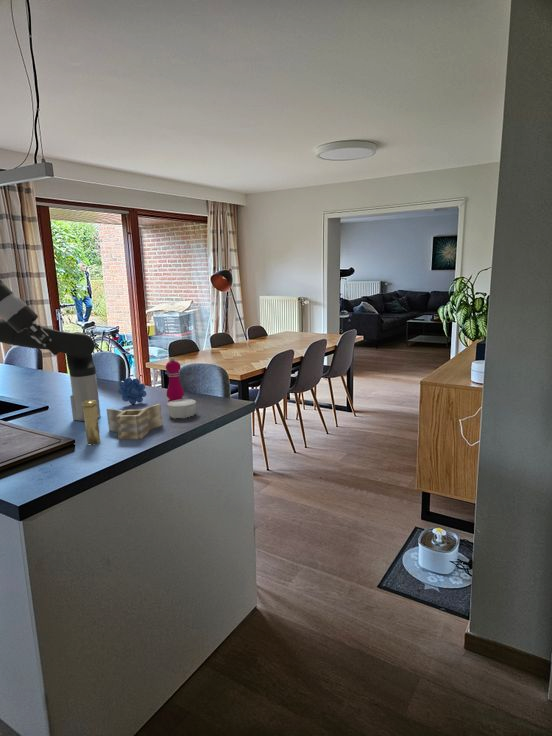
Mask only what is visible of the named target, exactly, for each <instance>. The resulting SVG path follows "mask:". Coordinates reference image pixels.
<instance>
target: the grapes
mask: <svg viewBox="0 0 552 736" xmlns="http://www.w3.org/2000/svg"><path fill="white" fill-rule="evenodd" d="M145 389H146V385H145V384H144V383H142V382H141V381H140V379H139V378H137V377H134V378H131V377H129V376H127V377H126V378H125V380H124V381H123V380H121V381H120V382H119V388H118V391H117V392H118V394H119V395H120V396H122V397H121V399H122V401H124V402H128V403H130V404H131V405H135V404H136V403H139V404H141V403H143V401H144V398H145V397H147V391H146V390H145Z"/></svg>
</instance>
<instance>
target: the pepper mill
mask: <svg viewBox="0 0 552 736" xmlns="http://www.w3.org/2000/svg"><path fill="white" fill-rule="evenodd" d="M165 370H166V372H167V377H168V385H167V389H166V397H167V398H168V402H170V401H174V400H180V399H183V397H184V395H185V392H184V388H183V386H182V384H181V382H180V376H181V374H180V373H181V372H180V370H181V363H180V362H179V361H177V360H175V357H173V356H172V357H170V361H168V362H167V363H166V364H165ZM168 402H167V403H168Z"/></svg>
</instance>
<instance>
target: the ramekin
mask: <svg viewBox="0 0 552 736" xmlns="http://www.w3.org/2000/svg"><path fill="white" fill-rule="evenodd" d="M196 405H197V401H196V400H194V399H190V398H182V399H180V400H174V401H170V402H167V403H166V407H167V410H168V414H169V417H170V418H172V419H176V418H182V419H187V417H189V418H191V417H190V416H192V417H193V416H194V415H195V413H196V409H197V408H196V407H197V406H196Z"/></svg>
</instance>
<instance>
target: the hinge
mask: <svg viewBox="0 0 552 736" xmlns="http://www.w3.org/2000/svg"><path fill="white" fill-rule="evenodd" d="M106 415H107V426H108V431H110V430H111V431H110V432H115V433H117V435H118V440H119V439H121V440H142V439H143V438H145V436H146V435H147V434H148V433H149V432H150V431H151V430H154V429H157V428H159V427H162V426H163V425H164V424H163V415H162V403H157V404H154V405H153V404H152V405H150V406H147V407H144V408H142V409H124V410H121V409H117V408H116V409H115V408H109V407H107V408H106Z"/></svg>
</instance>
